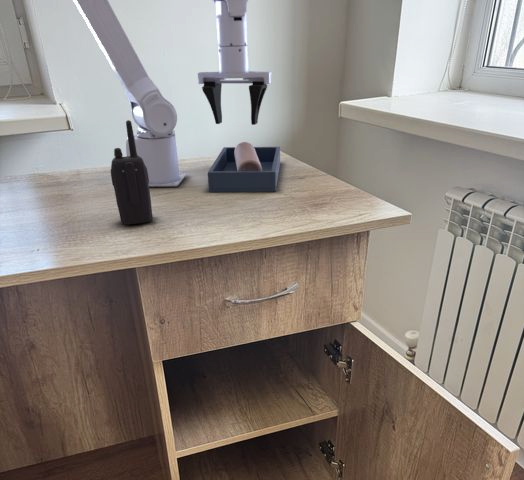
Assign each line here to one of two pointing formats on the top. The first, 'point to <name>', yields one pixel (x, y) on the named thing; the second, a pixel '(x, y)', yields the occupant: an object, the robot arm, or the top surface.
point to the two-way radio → (131, 184)
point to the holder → (245, 172)
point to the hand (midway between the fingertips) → (236, 123)
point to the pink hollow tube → (246, 158)
